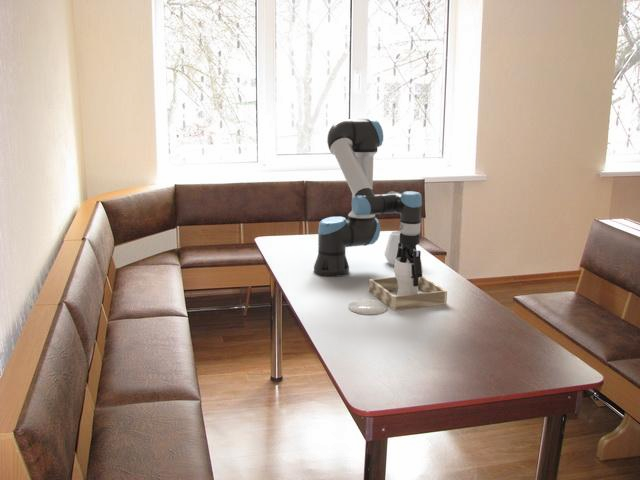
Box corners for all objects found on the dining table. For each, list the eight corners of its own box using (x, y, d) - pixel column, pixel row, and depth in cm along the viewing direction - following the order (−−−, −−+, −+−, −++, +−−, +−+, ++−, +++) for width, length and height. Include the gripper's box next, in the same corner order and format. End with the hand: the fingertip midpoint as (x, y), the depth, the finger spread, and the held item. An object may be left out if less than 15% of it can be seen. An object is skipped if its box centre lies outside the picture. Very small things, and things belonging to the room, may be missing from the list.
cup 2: (420, 303, 249) (422, 264, 245) (391, 301, 251) (393, 262, 247) (421, 294, 259) (423, 257, 256) (394, 292, 261) (395, 255, 258)
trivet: (342, 303, 248) (342, 302, 248) (377, 299, 252) (377, 298, 252) (357, 316, 235) (357, 314, 235) (393, 312, 240) (393, 310, 239)
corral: (369, 291, 262) (369, 279, 260) (418, 286, 269) (419, 274, 268) (393, 310, 242) (393, 297, 240) (446, 304, 249) (447, 291, 248)
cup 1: (418, 261, 303) (420, 232, 300) (405, 268, 292) (407, 238, 289) (392, 257, 310) (393, 228, 307) (378, 263, 299) (379, 233, 296)
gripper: (387, 226, 258) (385, 281, 264) (415, 241, 237) (412, 299, 243) (405, 225, 261) (402, 279, 266) (433, 239, 240) (430, 297, 245)
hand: (407, 289), depth 254 cm, fingers closed on cup 2, 11 cm apart
